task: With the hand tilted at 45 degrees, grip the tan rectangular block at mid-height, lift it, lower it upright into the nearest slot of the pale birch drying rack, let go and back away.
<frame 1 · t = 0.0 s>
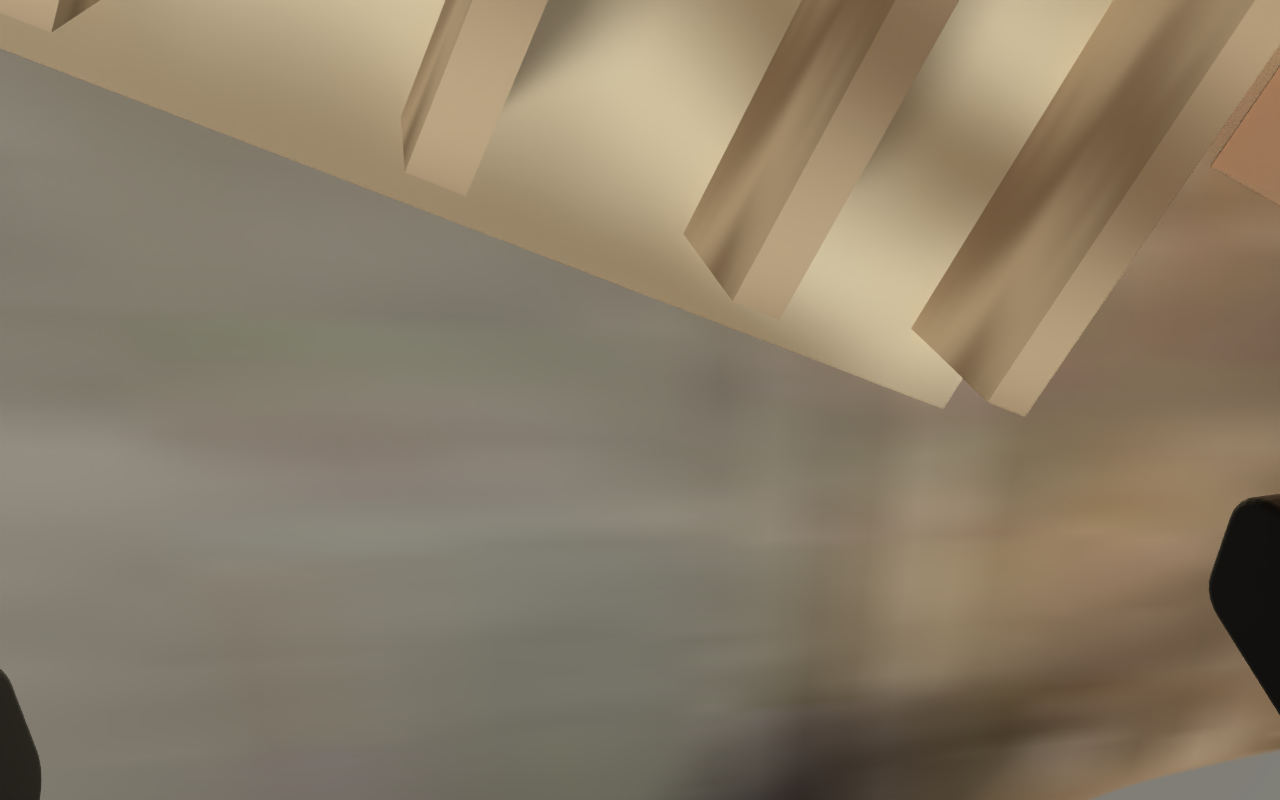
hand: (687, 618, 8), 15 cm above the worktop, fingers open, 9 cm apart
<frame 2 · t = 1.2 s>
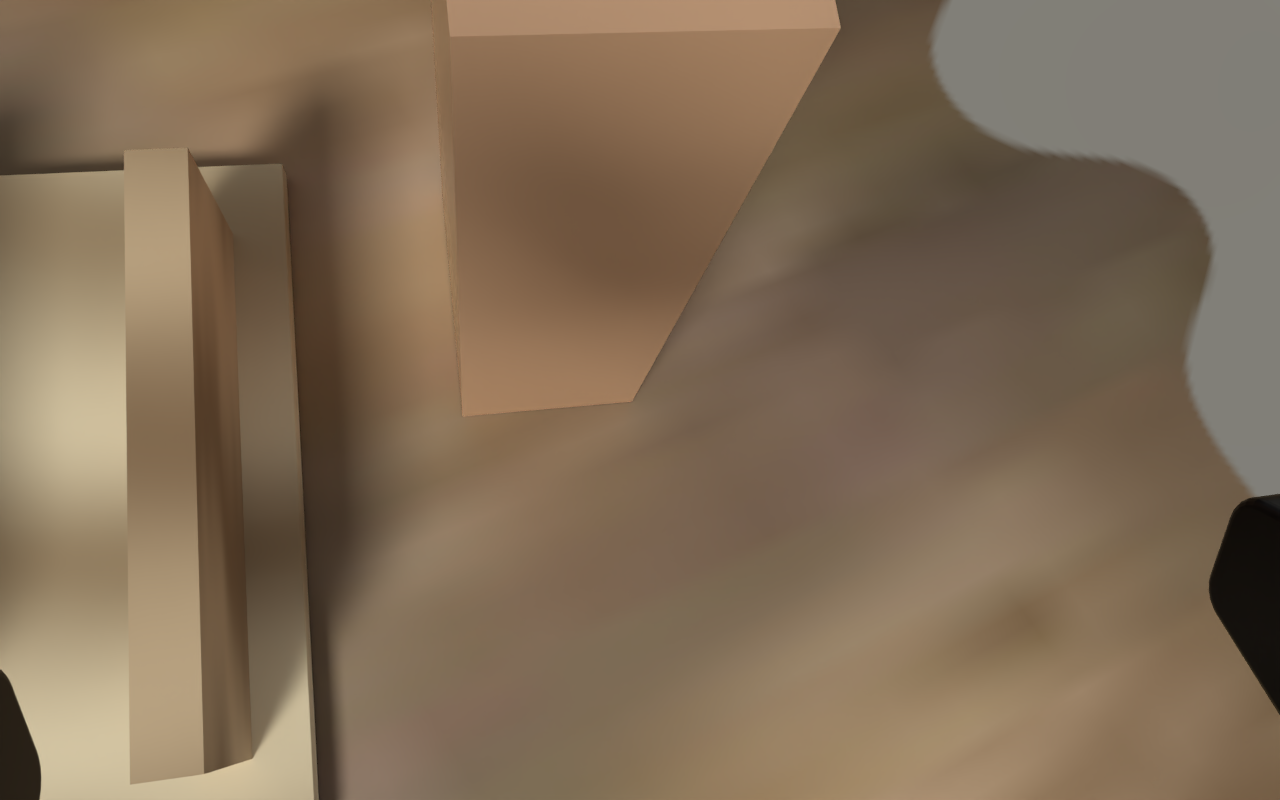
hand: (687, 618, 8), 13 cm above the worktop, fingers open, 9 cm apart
tan rectangular block: (535, 295, 22), on the worktop
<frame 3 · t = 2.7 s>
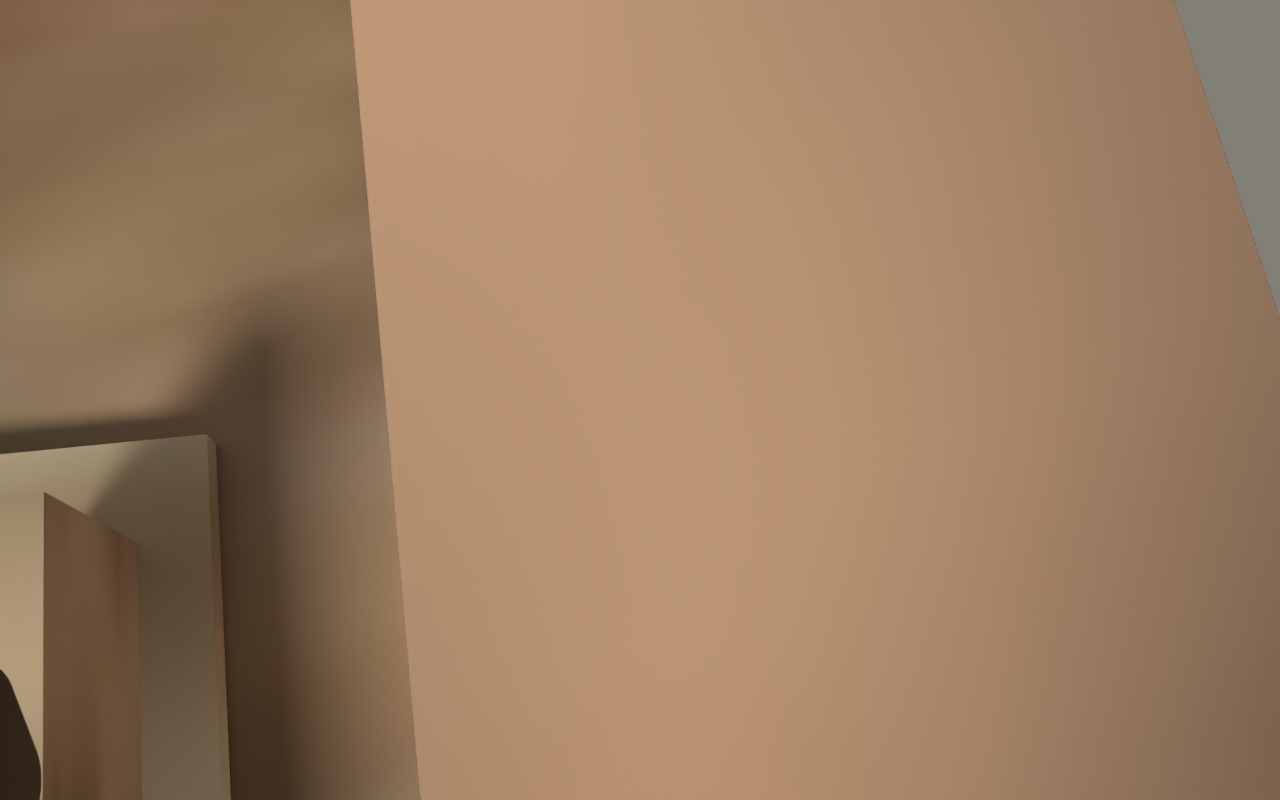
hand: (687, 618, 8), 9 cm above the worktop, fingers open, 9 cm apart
tan rectangular block: (558, 596, 16), on the worktop
when the fingers open (9 cm above the worktop, at t = 7.8 s): tan rectangular block drops 1 cm, resting on drying rack.
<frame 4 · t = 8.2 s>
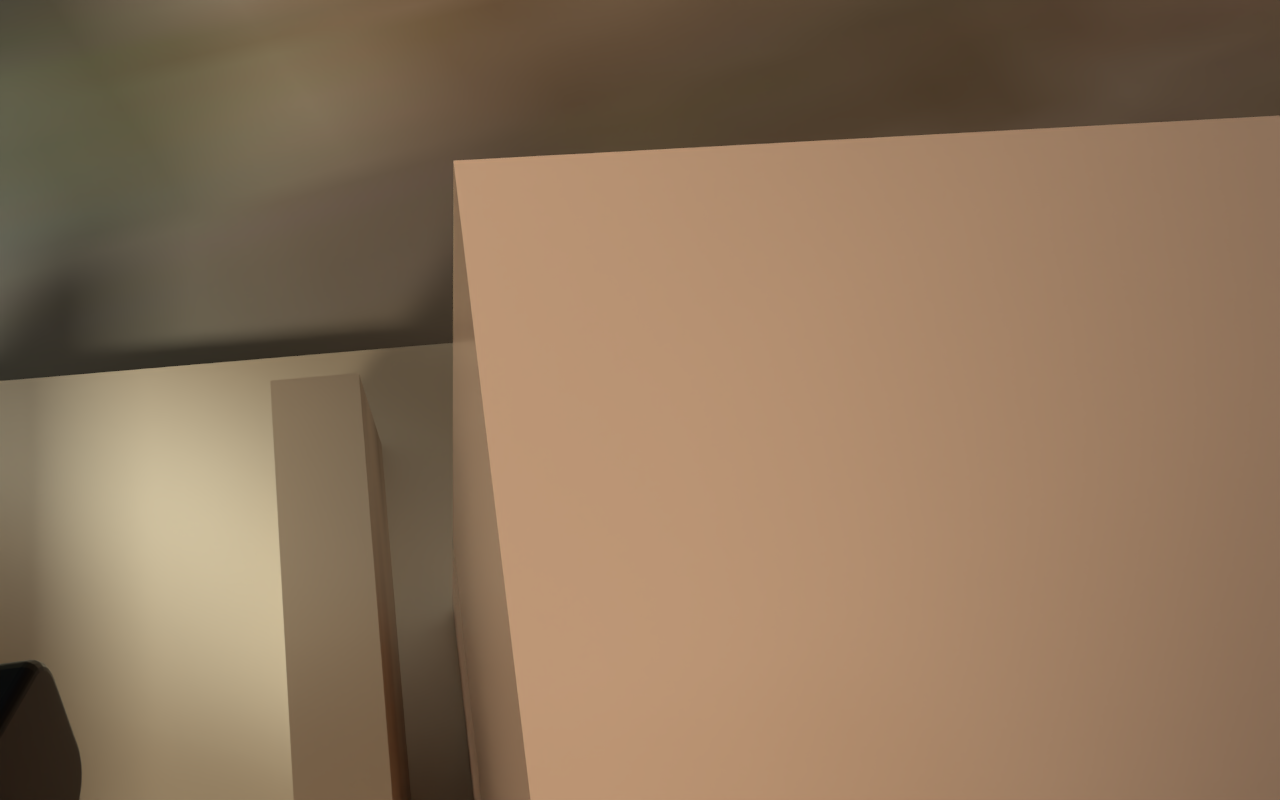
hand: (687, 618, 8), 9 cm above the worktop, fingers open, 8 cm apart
tan rectangular block: (596, 767, 15), point 1 cm above the worktop, touching drying rack
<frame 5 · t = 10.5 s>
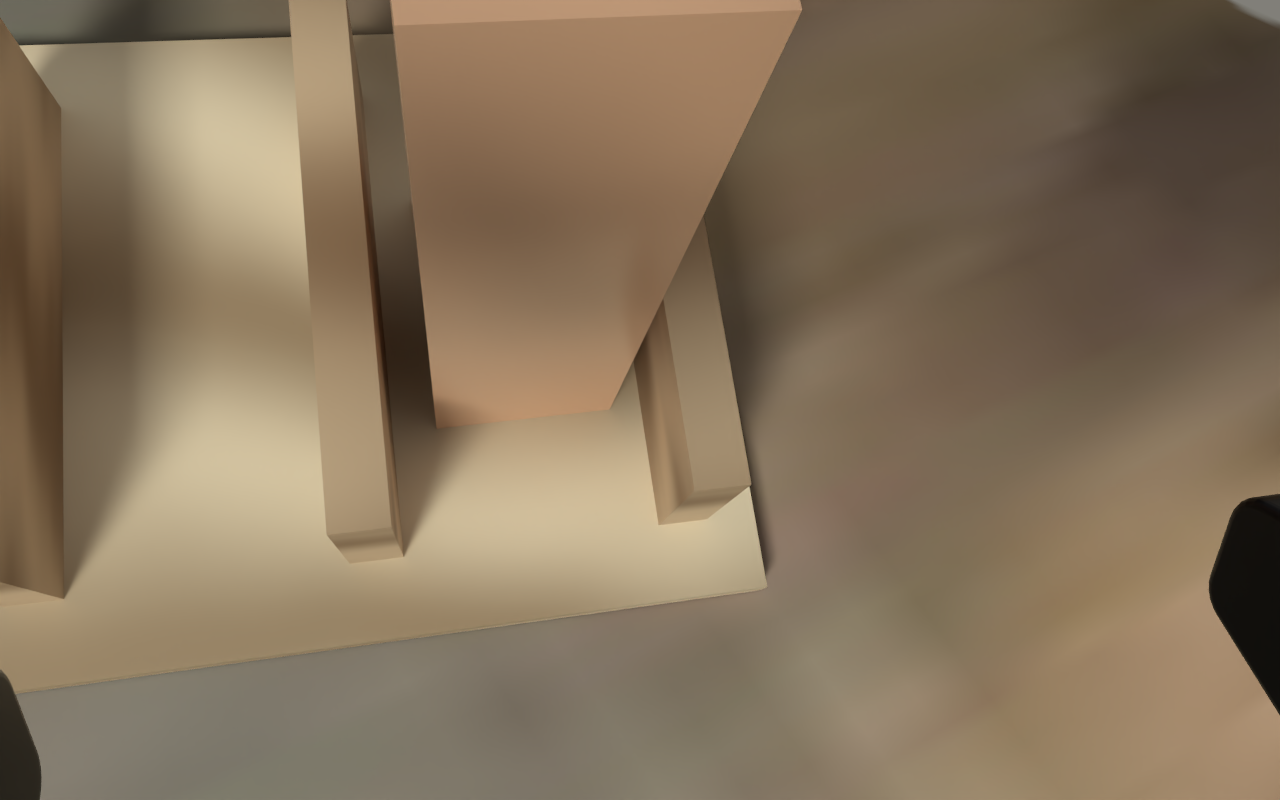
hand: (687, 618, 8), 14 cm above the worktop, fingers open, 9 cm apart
tan rectangular block: (509, 303, 22), point 1 cm above the worktop, touching drying rack
drying rack: (207, 337, 21), on the worktop
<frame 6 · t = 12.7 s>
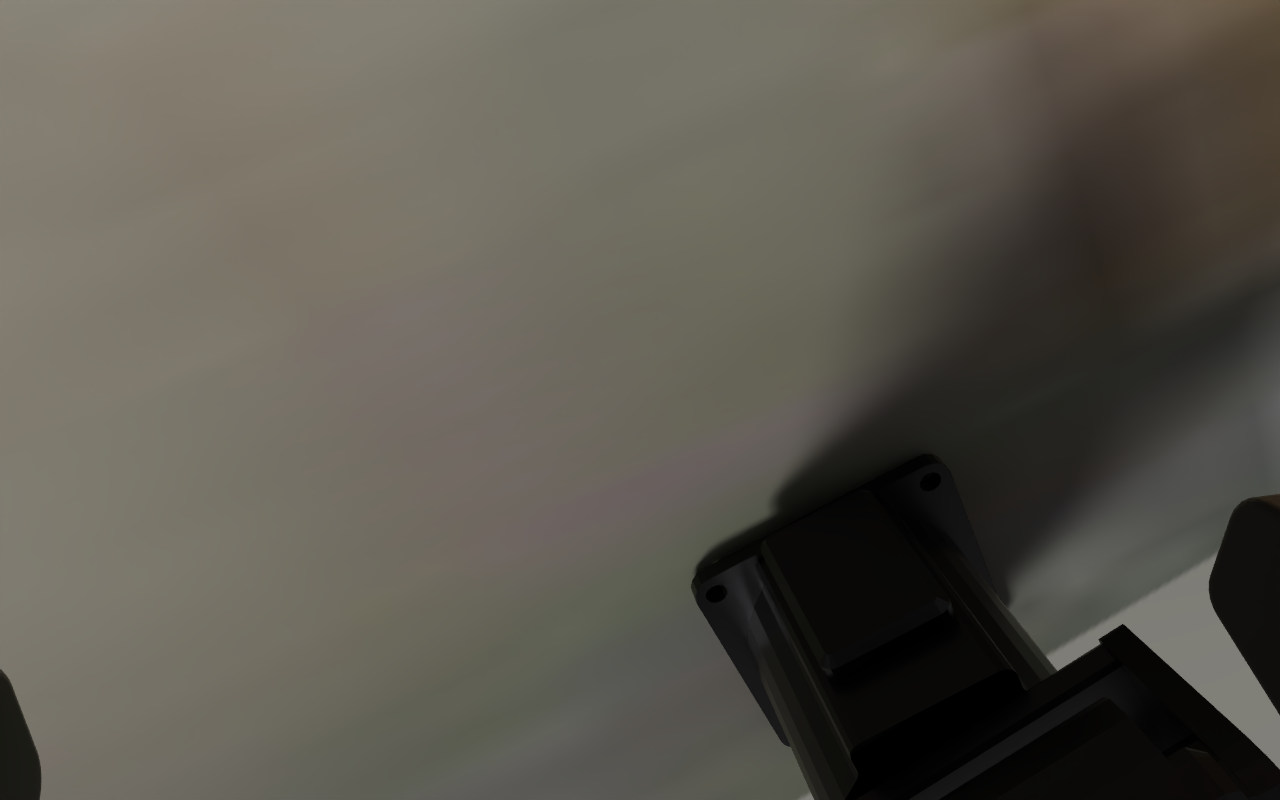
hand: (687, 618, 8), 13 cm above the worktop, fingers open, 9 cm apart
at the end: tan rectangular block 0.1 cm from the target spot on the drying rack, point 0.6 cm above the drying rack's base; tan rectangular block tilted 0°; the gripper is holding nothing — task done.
